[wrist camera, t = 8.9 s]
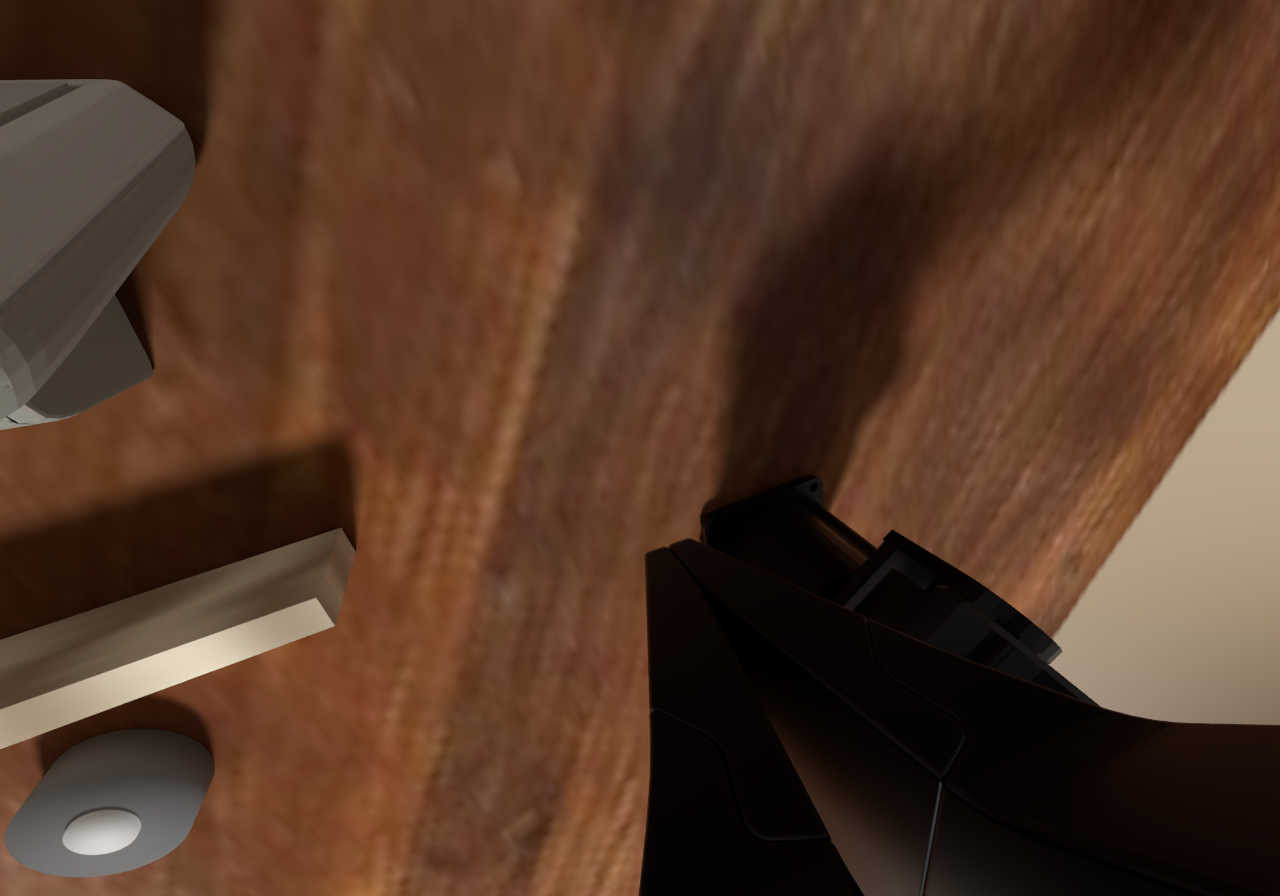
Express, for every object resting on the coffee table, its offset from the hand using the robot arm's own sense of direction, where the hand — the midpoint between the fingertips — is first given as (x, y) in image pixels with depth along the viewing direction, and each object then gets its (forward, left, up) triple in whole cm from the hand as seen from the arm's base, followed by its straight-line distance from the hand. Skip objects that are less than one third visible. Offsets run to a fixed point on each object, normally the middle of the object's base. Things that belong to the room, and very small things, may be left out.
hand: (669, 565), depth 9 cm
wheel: (+20, +11, -12) cm, 25 cm away
